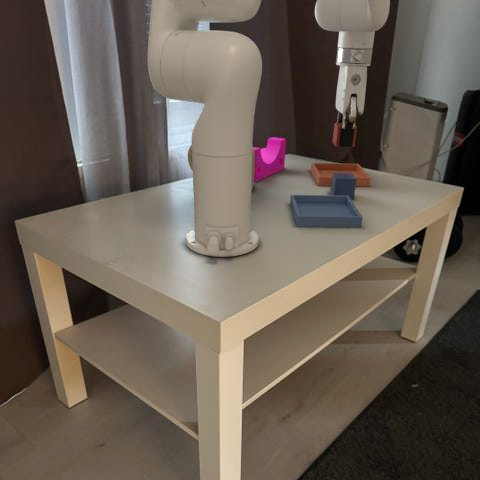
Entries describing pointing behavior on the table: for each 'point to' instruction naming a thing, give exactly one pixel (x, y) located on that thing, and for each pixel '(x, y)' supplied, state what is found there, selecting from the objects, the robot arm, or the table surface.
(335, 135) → the red block
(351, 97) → the robot arm
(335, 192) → the blue block
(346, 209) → the blue tray
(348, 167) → the red tray
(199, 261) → the table surface
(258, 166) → the toy block
